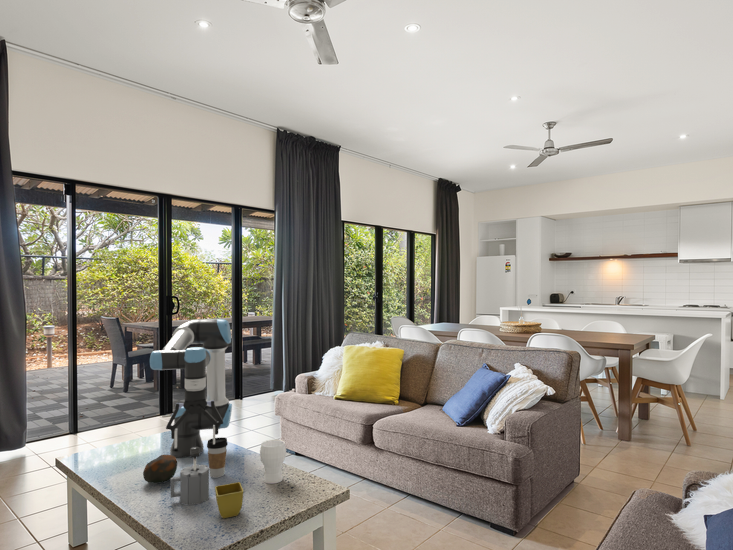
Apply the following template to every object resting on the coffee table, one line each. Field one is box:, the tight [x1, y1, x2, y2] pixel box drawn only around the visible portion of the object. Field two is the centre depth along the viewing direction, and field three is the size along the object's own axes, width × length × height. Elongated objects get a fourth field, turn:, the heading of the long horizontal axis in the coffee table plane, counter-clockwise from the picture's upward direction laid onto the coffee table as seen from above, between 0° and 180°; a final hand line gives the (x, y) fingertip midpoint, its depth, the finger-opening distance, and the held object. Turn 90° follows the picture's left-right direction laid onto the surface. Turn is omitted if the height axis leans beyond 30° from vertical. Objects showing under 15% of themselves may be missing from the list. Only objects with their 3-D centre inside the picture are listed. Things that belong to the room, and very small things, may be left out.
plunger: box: [189, 447, 201, 471], centre depth 175 cm, size 6×6×17 cm
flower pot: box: [214, 481, 245, 519], centre depth 162 cm, size 9×9×9 cm
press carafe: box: [170, 464, 210, 506], centre depth 174 cm, size 10×14×11 cm
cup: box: [259, 439, 287, 484], centre depth 192 cm, size 11×11×15 cm
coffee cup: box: [206, 437, 228, 479], centre depth 197 cm, size 8×8×15 cm
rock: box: [142, 454, 178, 484], centre depth 191 cm, size 14×11×10 cm
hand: (195, 445), depth 176 cm, fingers open, 13 cm apart
